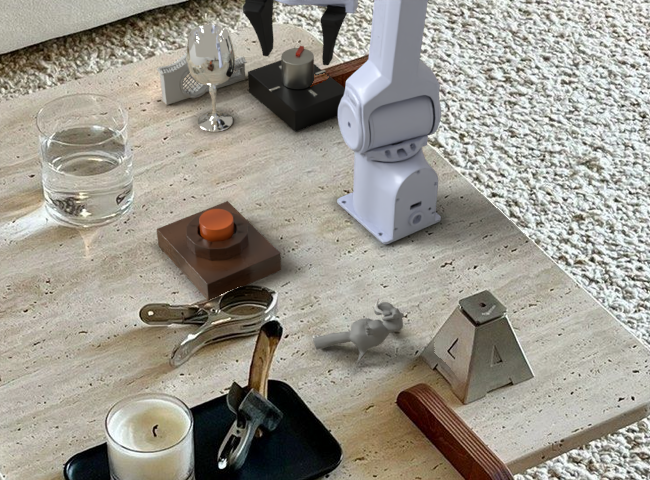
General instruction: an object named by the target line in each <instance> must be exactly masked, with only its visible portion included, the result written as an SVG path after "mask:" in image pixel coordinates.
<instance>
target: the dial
mask: <svg viewBox="0 0 650 480" xmlns="http://www.w3.org/2000/svg"><path fill="white" fill-rule="evenodd" d="M314 55H315V54H314V53H313V52H312V51H311V50H309V49H308V48H307V49H306V48H305V46H304V45H299V47H292V48H289V49H286V50H284V51H283V52H282V53H281V57H280V58H281V59H280V60H281V63H282V83H283V84H284V85H285V86H286V87H288V88H291V89H305V88H308V87H310V86H311V85H312V83H313V81H314V64H315V56H314Z"/></svg>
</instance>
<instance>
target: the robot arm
mask: <svg viewBox="0 0 650 480" xmlns="http://www.w3.org/2000/svg"><path fill="white" fill-rule="evenodd" d="M274 1H275V2H277V3H280V4H283V5H289V6H316V7H321V8H322V7H323V8H326V9H325V10H324V12H323V13H322V15H321V17H320V26H321V34H322V56H321V57H322V66H329V65H330V63H331V62H332V60H333V58H334V51H335V46H336V43H337V42H336V41H337V39H338V36H339V34H340V31H341V28H342V25H343V23H344V21H345V19H346V16H347V14H355V12H356V11H357V9H358V7H359V0H244V2H245V3H244V4H243V5H242V12H243V14H244V15H245V16H246V18H247V20H248V21H249V23H250V24H251V26H252V28H253V30H254V32H255V34H256V37H257V39H258V43H259V46H260V49H261V52H262V56H263V57H270V54H271V53H272V52H273V50H274V24H273V18H274V17H273V16H274V12H273V11H274ZM428 2H429V0H373V9H372V20H371V28H370V39H369V51H368V59H367V60H366V61H365V62H364V63H363V64H361V66H360V67H359V68H358V69H357V70H355V71H354V72H353V73H352V74H351V75H350V76H349V77H348V78H347V79H346V81H345V87H344V88H345V92H344V95H343V97H342V99H341V102H340V104H339V107H338V116H337V123H338V128H339V130H340V133H341V136H342V139H343V141H344V143H345V144H346V146H347V147H348V149H350V150H352V152H353V154H354V155H353V185H352V186H353V190H352V192H350V193H348V194H346V195H345V194H344V195H343V196H340V197H338V198H337V200H336V201H337V204H338V205H339V206H340V207H341V208H342V209H343V210H344V211H345V212H347V214H349V215H350V216H351V217H352V218H353V219H354V220H356V221H357V222H358V223H359V224H360V225H361V226H362V227H364V228H365V230H367V231H368V232H369V233H370V234H371V235H373V237H375V238H376V239H377V240H378V241H379V243H381V244H383V245H389V244H391V243H394V242H396V241H398V240H401V239H403V238H405V237H408V236H411V235H412V234H415V233H417V232H419V231H421V230H423V229H426V228H427V227H430V226H432V225H435V224H437V223H439V222H441V220H442V216H441V215H440V214H439V213H437V201H438V190H439V175H438V174H437V171H436V170H435V169H434V168H433V167H432V166H431V165H430V163H429V162H428V160H427V159H426V157H425V154H424V152H423V147H426V146H428V140H429V139H428V138H429V136H432V135H434V134H435V133H436V132H437V131H438V129H439V126H440V124H441V121H442V120H441V119H442V107H441V101H440V89H441V84H440V82H439V81H438V78H437V76H436V75H435V73H434V72H433V70H432V69H431V68H430V66H429V65H427V63H425V62H424V61H421V53H422V46H423V40H424V32H425V25H426V19H427V18H426V17H427V11H428Z"/></svg>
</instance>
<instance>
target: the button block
mask: <svg viewBox="0 0 650 480" xmlns="http://www.w3.org/2000/svg"><path fill="white" fill-rule="evenodd" d="M212 209H223V210H226V211H228V212H230V213H231V214H232V216H233V220H234V234H233V236H232V237H231V238H230V239H227V240H225V241H218V242H211V241H208V240H205V239H204V238H203V237H202V236H201V234H200V224H199V219H200V216H201V215H202V214H203V213H204V212H206V211H208V210H212ZM156 237H157V245H158V247H159V249H161V251H162V252H163V253H164V254H165V255H166V256H167V257H168V258H169V259H170V260H171V262H172V263H174V265H175V266H176V267H177V268H178V269H179V270H180V272H181V273H182V274H183V275H184V276H185V277H186V279H188V281H190V282H191V284H192V285H193V286H194V287H195V288H196V289H197V291H199V292H200V293H201V294H202V296H203V297H204V298H205V299H206V300H207V301H208V300H210V299H212V298H215V297H217V296H219V295H221V294H223V293H225V292H227V291H230V290H232V289H235V288H237V287H240V286H244V287H246V286H248V285H250V284H253V283H255V282H258V281H260V280H262V279H265V278H267V277H269V276H272V275H274V274H276V273H278V272H281V271H282V253H281V252H280V251H279V250H278V249H277V248H276V247H275V245H273V244H272V243H271V241H269V240H268V239H267V238H266V237H265V236H264V235H263V234H262V233H261V232H260V231H259V230H258V228H256V227H255V226H254V225H253V224H252V223H251V222H250V221H249V220H248V219H247V218H246V217H245V216H244V215H243V214H242V213H241V212H240V211H238V209H237V208H236V207H235V206H233V205H232V204H231V203H230V201H228V200H227V201H223V202H221V203H219V204H216V205H214V206H211V207H209V208H206V209H204V210H201V211H199V212H196V213H194V214H191V215H188V216H186V217H183V218H181V219H177V220H175V221H173V222H171V223H168V224H165V225H163V226H160V227H158V228H156Z"/></svg>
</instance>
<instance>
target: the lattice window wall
mask: <svg viewBox="0 0 650 480" xmlns="http://www.w3.org/2000/svg"><path fill="white" fill-rule="evenodd" d="M186 57H187V51H185V52H184V54H182V56H179V58H177V60H175V62H172V63H170V64H167V65H162V66H158V67H156V71H157V72H158V74H159V78H160V79H159V80H160V89H161V99H162V102H163V103H164V104H165V105H166V106H169V105H171V104H174V103H178V102H180V101H184V100H187V99H189V98H190V99H196V98H199V97H201V96H203V95H204V94H205V93H209V86H208V85H203V84H200V83H198V82H197V81H195V80H194V79H193V77H192V76H191V75H190V73H189V70H188V66H187V59H186ZM247 63H248V62H247V60H246V59H245V56H243V55H239V57H238V56H237V57H236V58H235V68H234V72H233V74H232V75H231V77H230V78H229V79H228V80H227V81H226V82H224V83H222V84H219V85H216V87H217V89H221V88H223V87H225V86H226V87H227V86H229V85H233V84H235V83H238V82H241V81H244V80H246V64H247ZM195 83H196V84H195Z"/></svg>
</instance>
